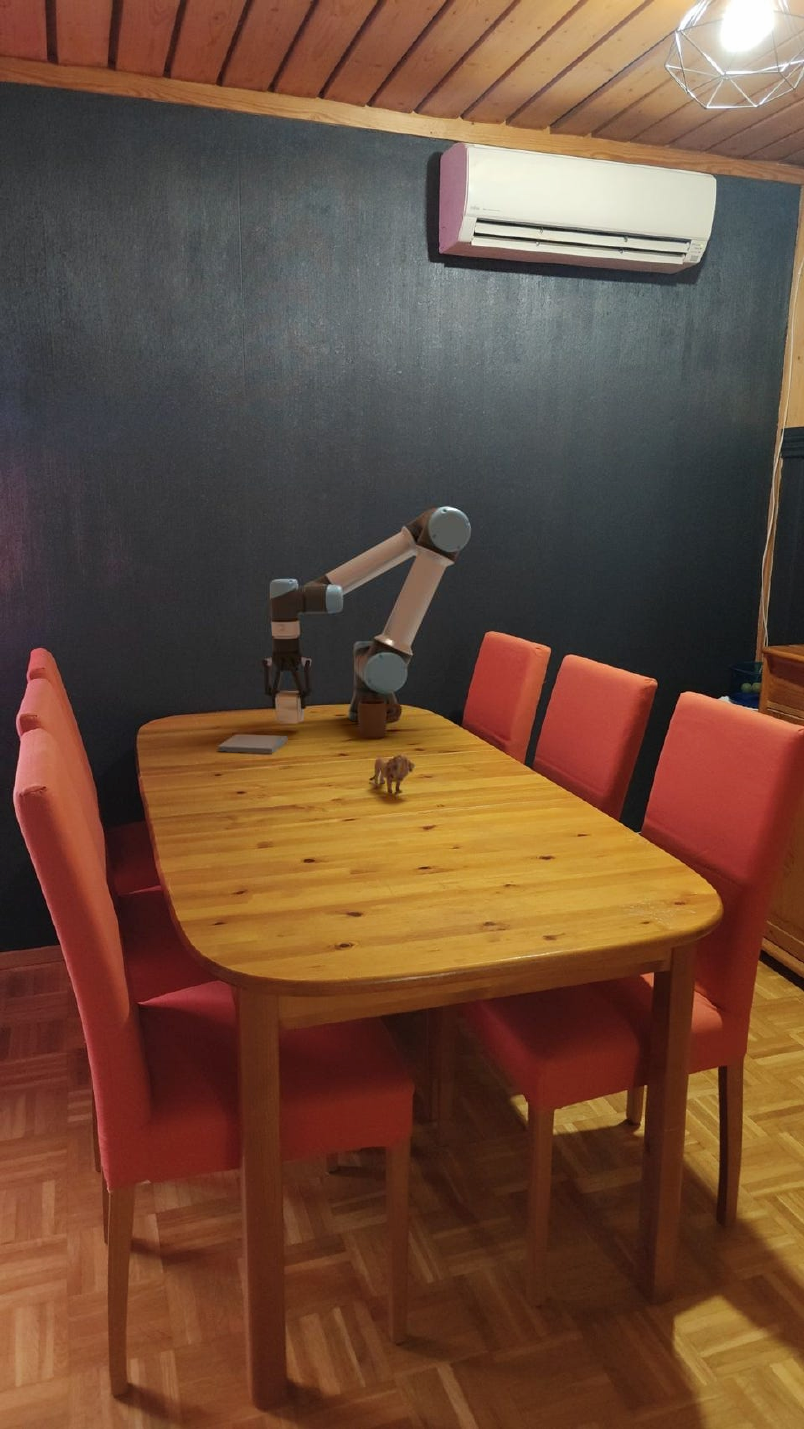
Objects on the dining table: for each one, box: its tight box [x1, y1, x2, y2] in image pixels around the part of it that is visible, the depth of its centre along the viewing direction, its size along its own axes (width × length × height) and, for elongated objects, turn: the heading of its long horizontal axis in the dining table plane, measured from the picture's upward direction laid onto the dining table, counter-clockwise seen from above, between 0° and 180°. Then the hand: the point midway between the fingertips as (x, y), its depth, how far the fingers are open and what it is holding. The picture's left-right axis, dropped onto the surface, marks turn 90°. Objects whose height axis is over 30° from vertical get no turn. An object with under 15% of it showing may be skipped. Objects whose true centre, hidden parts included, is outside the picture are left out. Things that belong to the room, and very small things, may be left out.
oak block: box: [276, 690, 300, 725], centre depth 264 cm, size 6×6×8 cm
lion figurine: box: [368, 754, 416, 796], centre depth 209 cm, size 15×5×9 cm, turn 36°
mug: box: [357, 700, 403, 740], centre depth 261 cm, size 12×8×9 cm, turn 102°
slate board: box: [217, 733, 288, 755], centre depth 249 cm, size 14×14×1 cm
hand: (289, 720), depth 265 cm, fingers closed on oak block, 5 cm apart
